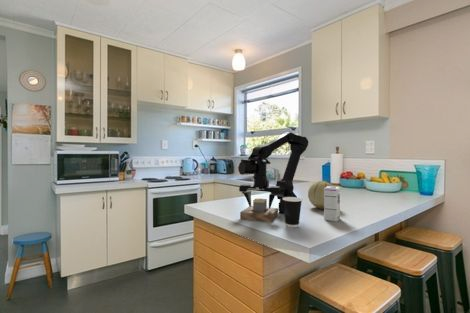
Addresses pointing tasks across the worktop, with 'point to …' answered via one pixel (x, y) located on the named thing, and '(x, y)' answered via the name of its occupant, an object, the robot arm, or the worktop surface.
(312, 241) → the worktop surface
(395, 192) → the worktop surface
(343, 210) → the worktop surface
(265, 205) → the plug
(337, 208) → the syrup box
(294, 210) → the dixie cup
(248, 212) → the socket block
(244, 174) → the robot arm
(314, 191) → the cantaloupe
